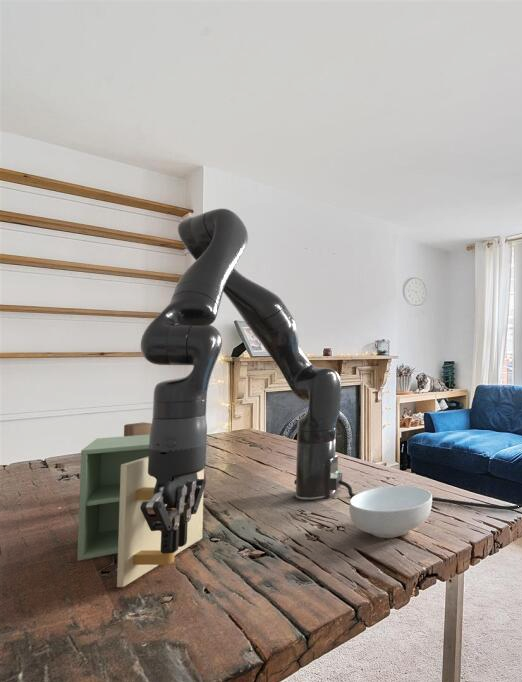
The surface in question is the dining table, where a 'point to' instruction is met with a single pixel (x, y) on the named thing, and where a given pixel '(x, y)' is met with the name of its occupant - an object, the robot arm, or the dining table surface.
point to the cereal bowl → (390, 510)
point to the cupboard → (104, 491)
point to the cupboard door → (144, 525)
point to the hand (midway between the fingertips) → (173, 548)
